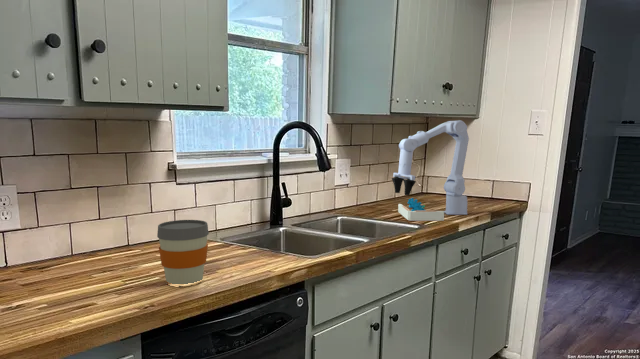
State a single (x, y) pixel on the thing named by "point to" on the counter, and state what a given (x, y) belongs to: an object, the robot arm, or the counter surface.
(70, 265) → the counter surface
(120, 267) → the counter surface
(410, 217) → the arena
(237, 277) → the counter surface
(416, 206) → the blue toy dinosaur
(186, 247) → the reusable coffee cup
